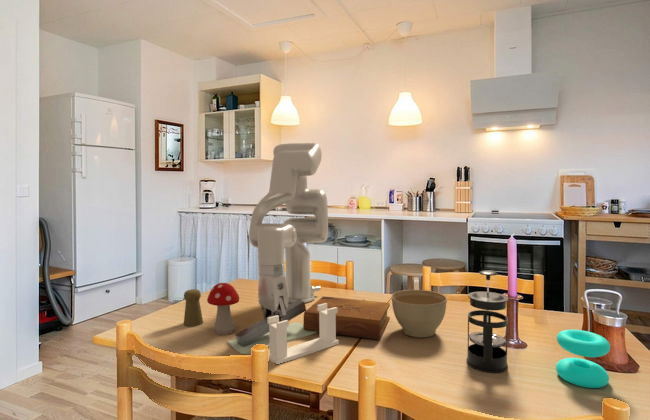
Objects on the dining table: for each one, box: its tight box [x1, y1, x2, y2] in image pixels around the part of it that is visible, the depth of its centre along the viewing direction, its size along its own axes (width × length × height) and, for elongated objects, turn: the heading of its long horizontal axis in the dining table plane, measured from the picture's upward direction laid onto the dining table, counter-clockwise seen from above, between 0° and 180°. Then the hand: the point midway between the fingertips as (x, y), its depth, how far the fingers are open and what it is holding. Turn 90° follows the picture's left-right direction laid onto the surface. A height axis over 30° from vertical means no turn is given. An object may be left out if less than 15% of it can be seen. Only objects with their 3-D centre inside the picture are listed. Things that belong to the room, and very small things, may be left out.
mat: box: [226, 321, 318, 355], centre depth 113 cm, size 24×10×1 cm, turn 128°
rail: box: [234, 299, 307, 347], centre depth 113 cm, size 22×3×3 cm, turn 127°
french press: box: [466, 270, 509, 374], centre depth 94 cm, size 12×9×23 cm
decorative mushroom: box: [206, 282, 240, 335], centre depth 118 cm, size 10×9×15 cm
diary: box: [303, 296, 391, 341], centre depth 122 cm, size 23×19×6 cm
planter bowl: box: [390, 289, 448, 338], centre depth 116 cm, size 16×16×11 cm
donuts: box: [555, 328, 611, 389], centre depth 87 cm, size 10×10×10 cm
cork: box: [183, 288, 204, 328], centre depth 126 cm, size 6×6×11 cm
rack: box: [267, 303, 340, 365], centre depth 104 cm, size 20×5×10 cm, turn 128°
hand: (272, 331), depth 113 cm, fingers closed on rail, 3 cm apart
